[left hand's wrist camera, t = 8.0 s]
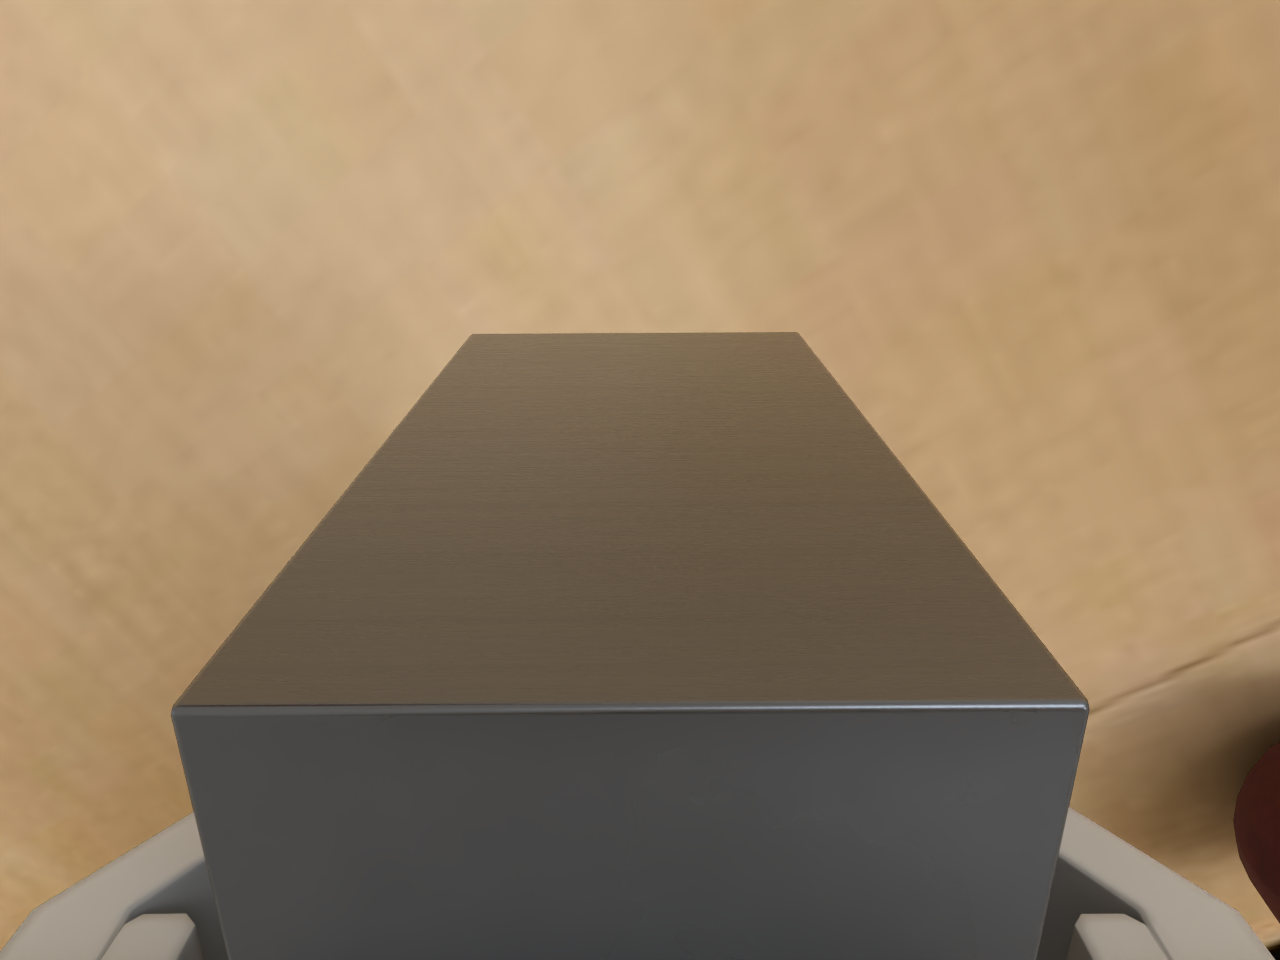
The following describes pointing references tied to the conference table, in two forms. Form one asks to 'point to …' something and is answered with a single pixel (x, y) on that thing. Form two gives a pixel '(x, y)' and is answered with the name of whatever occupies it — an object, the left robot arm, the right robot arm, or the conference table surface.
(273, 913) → the bar
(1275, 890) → the potato
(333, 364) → the conference table surface
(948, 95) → the conference table surface
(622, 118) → the conference table surface
